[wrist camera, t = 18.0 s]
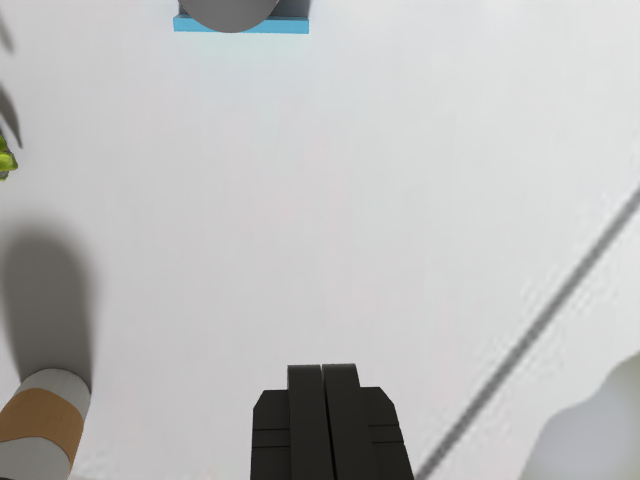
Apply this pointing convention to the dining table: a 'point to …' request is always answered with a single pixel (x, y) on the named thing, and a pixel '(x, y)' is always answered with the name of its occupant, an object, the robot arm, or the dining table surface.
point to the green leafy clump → (6, 160)
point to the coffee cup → (43, 426)
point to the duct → (267, 26)
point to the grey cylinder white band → (229, 13)
